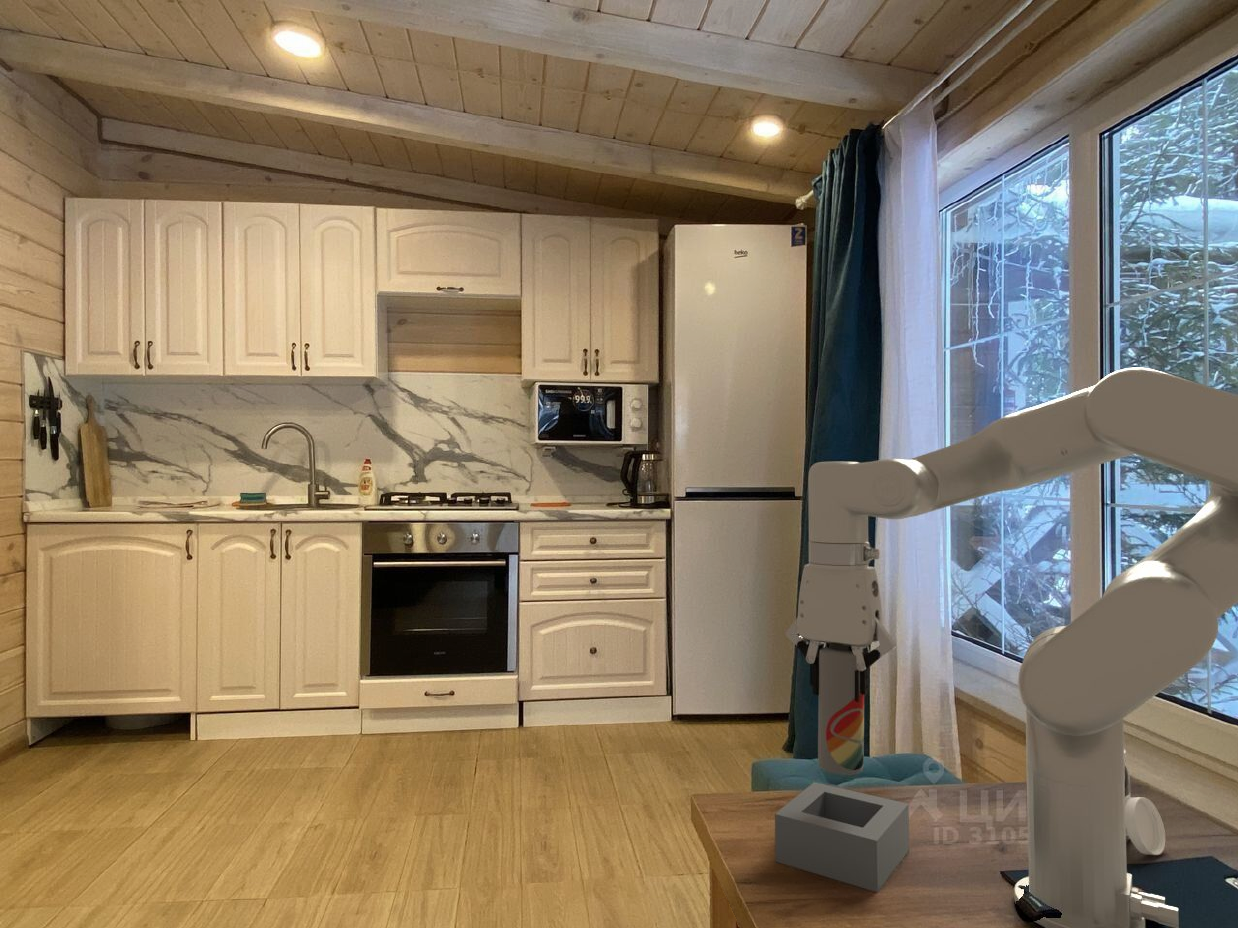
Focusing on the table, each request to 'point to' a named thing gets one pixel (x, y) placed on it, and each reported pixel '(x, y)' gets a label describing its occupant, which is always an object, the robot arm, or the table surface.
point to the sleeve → (843, 835)
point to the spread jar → (1142, 822)
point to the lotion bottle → (839, 712)
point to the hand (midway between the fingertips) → (839, 694)
